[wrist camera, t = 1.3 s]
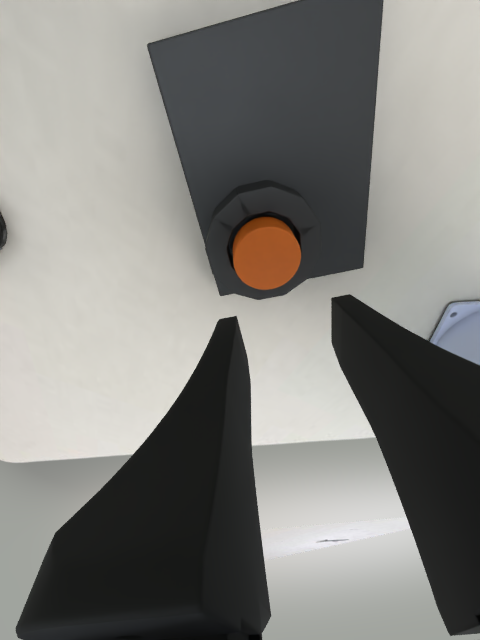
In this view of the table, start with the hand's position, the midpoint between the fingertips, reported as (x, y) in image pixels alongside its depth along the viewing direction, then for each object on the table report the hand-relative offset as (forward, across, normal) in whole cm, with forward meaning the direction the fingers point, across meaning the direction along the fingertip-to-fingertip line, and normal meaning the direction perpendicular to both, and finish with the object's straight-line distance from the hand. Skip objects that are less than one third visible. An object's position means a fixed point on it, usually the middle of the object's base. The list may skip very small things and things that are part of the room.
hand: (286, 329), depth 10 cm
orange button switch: (+10, -2, -3) cm, 11 cm away
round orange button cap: (+8, 0, 0) cm, 8 cm away
